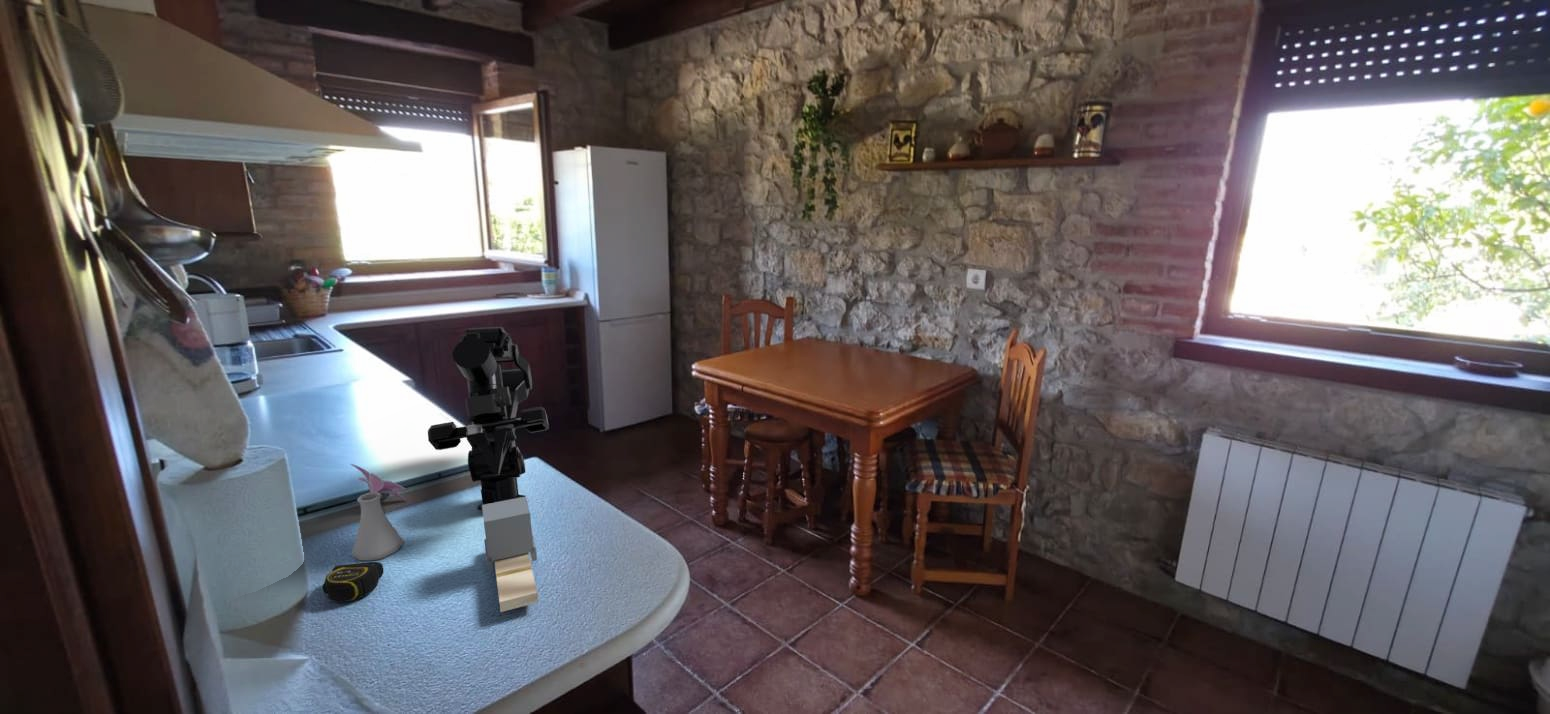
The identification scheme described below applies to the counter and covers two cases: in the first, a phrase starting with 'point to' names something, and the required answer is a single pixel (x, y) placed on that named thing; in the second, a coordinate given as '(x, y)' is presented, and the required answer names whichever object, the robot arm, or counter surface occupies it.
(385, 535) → the flask
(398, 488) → the lily
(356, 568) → the tape measure
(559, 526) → the counter surface
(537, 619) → the counter surface
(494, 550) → the block
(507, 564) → the beam
